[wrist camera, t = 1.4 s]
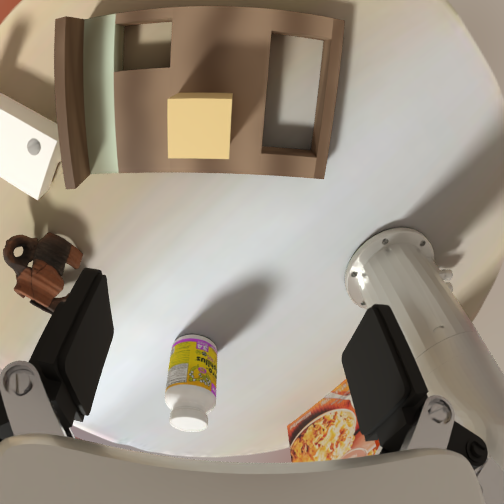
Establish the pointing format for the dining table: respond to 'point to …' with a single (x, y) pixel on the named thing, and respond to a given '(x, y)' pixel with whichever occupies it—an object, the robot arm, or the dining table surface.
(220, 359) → the dining table surface
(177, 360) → the supplement bottle
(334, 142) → the dining table surface
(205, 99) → the block
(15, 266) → the pottery mug
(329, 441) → the orange cereal box
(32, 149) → the bracket
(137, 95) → the box
